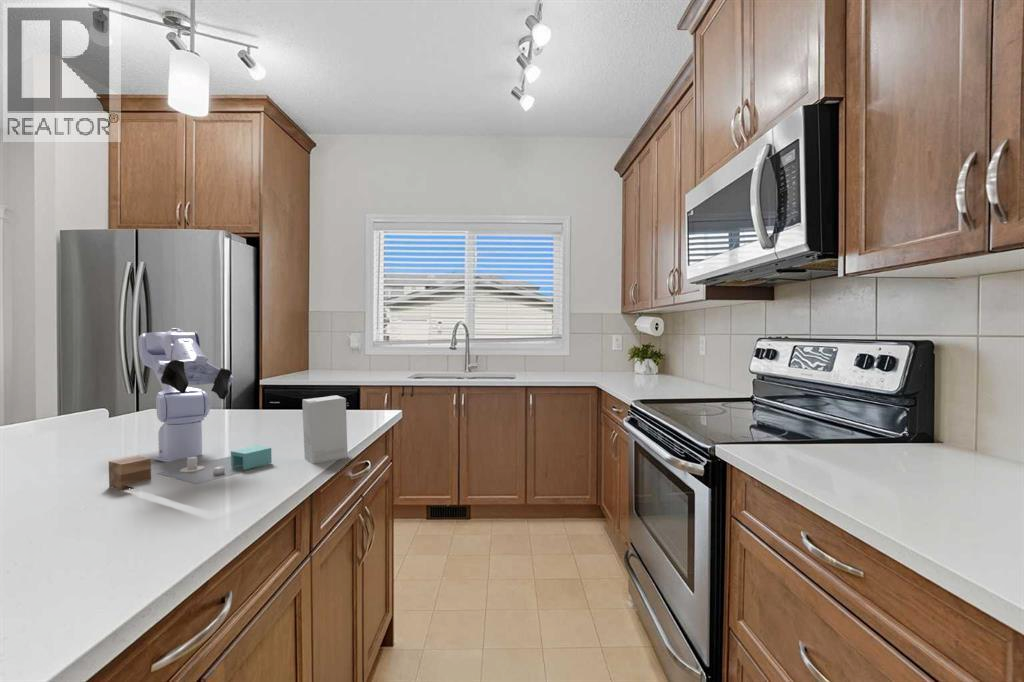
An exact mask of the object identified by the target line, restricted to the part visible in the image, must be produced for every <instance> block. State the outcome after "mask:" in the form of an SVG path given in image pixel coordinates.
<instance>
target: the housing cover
mask: <svg viewBox="0 0 1024 682" xmlns="http://www.w3.org/2000/svg"><path fill="white" fill-rule="evenodd" d="M230 456H231V467H235V466H240V465H243V469H244V470H246V469H250V468H254V467H258V466H262V465H265V464H269V463H270V464H273V463H272V461H273V460H272V447H268V446H262V445H254V446H249V447H244V448H238V449H234V450H231V451H230Z"/></svg>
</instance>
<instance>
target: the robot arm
mask: <svg viewBox="0 0 1024 682" xmlns="http://www.w3.org/2000/svg"><path fill="white" fill-rule="evenodd" d="M138 353H139V358H140V360H141V362H142V363H143V366H145V367H148V368H150V369H152V370H153V372H154V374H155V376H156V377H157V381H158V382H159V384H160V386H161V389H162V390H161V391H159V392H157V395H156V397H155V410H156V416H157V419H158V421H160V422H161V423H163V424H162V425H161V426H160V428H159V430H158V433H157V434H158V437H157V438H158V456H156V457H154V460H156V461H159V462H164V463H168V462H172V461H178V460H181V459H187V458H189V457H198V456H201V455H205V453H204V452H203V433H202V432H203V426H202V425H203V423H202V421H205V418H207V416H208V415H209V414H210V408H211V407H210V406H211V405H210V397H209V394H208V393H207V392H206V391H205V390H203V389H201V388H196V387H190V386H200V385H203V386H204V385H208V384H209V385H210V384H211V385H212V384H213V386H212V388H211V390H210V391H211V392H214V393H215V394H216V395H217V396H218V398H219V399H220V400H226V397H227V396H228V394H229V386H231V385H232V383H233V382H234V381H233V380H234V378H235V377H234V376H233V373H232V370H230V369H227V368H222V367H220V368H219V367H217V366H215V365H214V364H211V363H210V362H208V359H209V358H208V356H207V355H204V353H203V351H202V349H201V338H200V335H199V333H198V332H197V331H193V332H184V330H183V329H180V328H178V327H171V329H170V330H168V331H155V332H146V333H141V334H140V335H139V337H138Z"/></svg>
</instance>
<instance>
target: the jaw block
mask: <svg viewBox="0 0 1024 682" xmlns="http://www.w3.org/2000/svg"><path fill="white" fill-rule="evenodd" d="M151 461H152V458H150V457H145V456H141V455H134V456H129V457H123V458H118V459H114V460H109V461H108V487H110V488H111V487H113V488H112V489H114V488H116V489H115V490H117V489H119V490H118V491H120V490H123V491H125V490H124V489H127V490H130V489H129V488H131V489H133V487H131V486H128V485H130V484H135V483H140V482H144V481H148V480H152V466H151V465H152V462H151Z"/></svg>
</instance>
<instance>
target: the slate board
mask: <svg viewBox="0 0 1024 682" xmlns="http://www.w3.org/2000/svg"><path fill="white" fill-rule="evenodd" d="M271 465H274V464H273V463H269V464H265V465H262V466H258V467H254V468H250V469H246V470H244V469H243V465H240V466H235V467H231V455H229V456H226V457H221V458H218V459H212V460H209V461H205V462H200V463H198V456H195V457H189V458H186V466H181V467H177V468H172V469H169V470H164V471H159V472H156V475H157V474H158V475H161V476H165V477H169V478H173V479H175V480H180V481H184V482H186V483H191V484H194V485H198V484H202V483H205V482H209V481H214V480H218V479H221V478H222V479H223V478H225V477H230V476H234V475H237V474H242V473H244V472H249V471H252V470H253V471H254V470H256V469H262V468H263V467H268V466H271Z"/></svg>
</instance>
